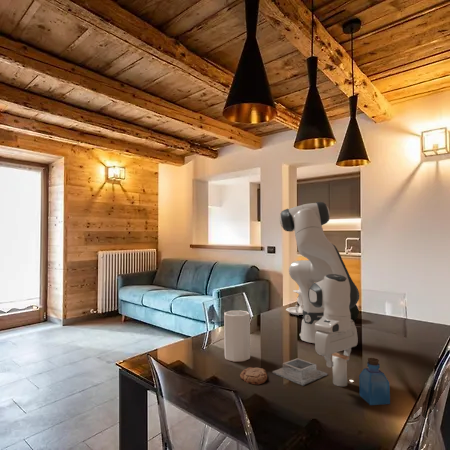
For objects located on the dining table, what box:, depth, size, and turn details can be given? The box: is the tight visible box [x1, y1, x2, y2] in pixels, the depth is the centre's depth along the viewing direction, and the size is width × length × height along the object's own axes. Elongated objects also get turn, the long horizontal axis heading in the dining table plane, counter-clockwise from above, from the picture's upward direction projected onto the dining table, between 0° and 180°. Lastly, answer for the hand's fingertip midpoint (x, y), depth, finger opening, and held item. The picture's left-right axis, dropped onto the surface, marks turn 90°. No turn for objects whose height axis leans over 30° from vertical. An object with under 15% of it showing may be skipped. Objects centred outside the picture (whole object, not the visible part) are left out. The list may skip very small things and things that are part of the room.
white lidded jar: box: [331, 352, 350, 388], centre depth 112 cm, size 5×6×10 cm
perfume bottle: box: [358, 357, 391, 406], centre depth 100 cm, size 6×6×12 cm
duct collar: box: [272, 358, 328, 387], centre depth 120 cm, size 14×14×4 cm
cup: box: [223, 309, 251, 363], centre depth 138 cm, size 11×11×18 cm
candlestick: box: [285, 286, 303, 316], centre depth 217 cm, size 21×25×28 cm
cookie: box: [239, 366, 268, 385], centre depth 117 cm, size 10×11×3 cm
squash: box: [349, 304, 360, 322], centre depth 202 cm, size 14×15×15 cm
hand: (338, 363), depth 112 cm, fingers open, 8 cm apart
